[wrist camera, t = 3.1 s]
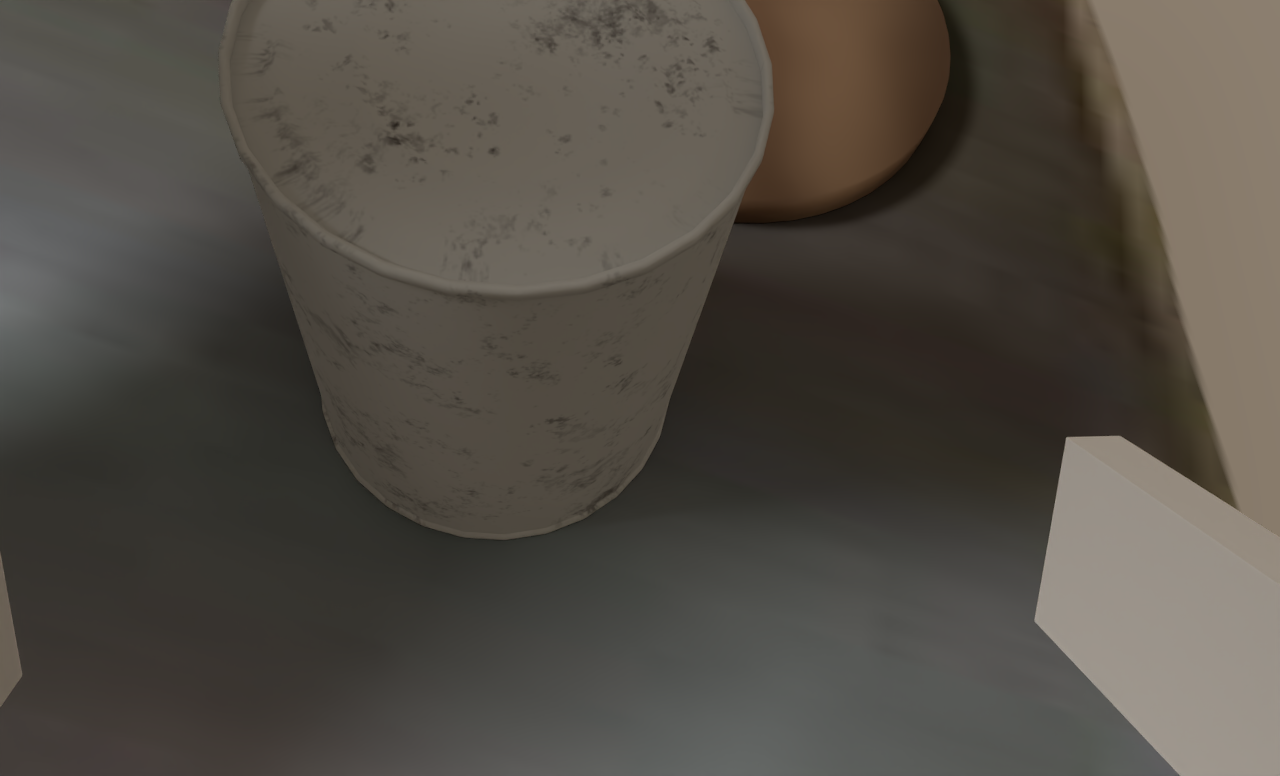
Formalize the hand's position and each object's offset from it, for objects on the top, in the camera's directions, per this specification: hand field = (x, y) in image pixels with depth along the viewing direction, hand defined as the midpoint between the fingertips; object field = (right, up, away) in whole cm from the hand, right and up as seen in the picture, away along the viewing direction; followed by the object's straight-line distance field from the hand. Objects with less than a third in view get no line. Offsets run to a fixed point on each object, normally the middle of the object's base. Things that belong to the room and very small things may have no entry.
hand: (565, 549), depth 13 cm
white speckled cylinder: (-3, +2, +16) cm, 17 cm away
